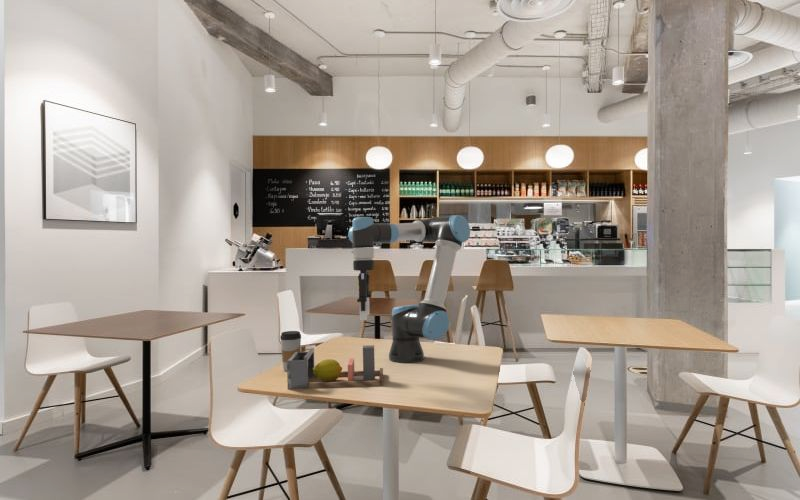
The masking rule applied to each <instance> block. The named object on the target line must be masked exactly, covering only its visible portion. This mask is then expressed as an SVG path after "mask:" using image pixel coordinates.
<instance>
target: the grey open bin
mask: <svg viewBox="0 0 800 500" xmlns="http://www.w3.org/2000/svg"><path fill="white" fill-rule="evenodd" d="M314 367H315V348H313V347H311V348H310V349H309V350H308V351H300V352H295V353H294V354H293V355H292V357H291V358H290V359H289V360H288V361H287V371H286V373H287V376H286V377H287V380H286V381H287V389H288V388H301V389H309V388H308V383H309V378H315V377H314V374H313V368H314Z"/></svg>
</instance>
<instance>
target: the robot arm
mask: <svg viewBox="0 0 800 500" xmlns="http://www.w3.org/2000/svg"><path fill="white" fill-rule="evenodd" d="M347 235H348V240H349V241H350V242H351V243H352V250H351V254H353V255H352V257H353V259H354V260H353V264H352V266H353V270H354V271H356V272H357V271H359V273H358V276H357V279H358V298H357V299H356V302H357V303H359V304H358V305H359V306H358V307H359V309H358V310H359V321H368V316H370V313H371V312H370V298H371V297H372V295H371V294H370V286H369V285H370V273H369V271H373V270H374V269H375V262H374V258H375V255H374V254H375V253H374V251H375V250H374V249H375V247H374V244H393V243H396V242H407V241H415V242H416V243H423V242H424V243H435V246H436V251H435V254H434V258H433V262H432V266H431V270H430V274H429V279H428V282H427V286H426V290H425V294H424V299H423V300H421V301H420V302H419V304H409V305H400V306H395V307H393V308H392V310H391V330H392V332H391V333H392V342H391V346H390V350H389V354H388V359H389V361H392V362H394V363H395V362H396V363H415V362H419V361H422V360H424V359H425V352H424V349H423V348H422V344H421V341H420V338H423V339H428V340H438V339H439V340H440V339H441V338H442V337H444V336H445V335H446V333H447V331H448V330H449V328H450V318H449V315H448V314H447V308H446V306H445V301H446V298H447V294H448V288H449V285H450V280H451V277H452V271H453V268H454V265H455V264H454V263H455V259H456V255H457V252H458V251H460V250H461V249H462V245H463V243H465V242H467V241H469V239H470V236H471V227H470V224H469V222H468V220H467V219H466V217H464V216H463V215H458V214H456V215H455V214H452V215H445V216H435V217H430V218H426V219H425V218H424V219H419V220H414V221H413V222H403V223H402V222H400V223H390V222H387V223H386V222H385V223H382V222H381V223H380V222H379V223H378V222H375V223H374V219H373V217H369V216H358V217H354V218H353V219H352V226H351V227H350V228H349V230H348V234H347Z"/></svg>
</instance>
